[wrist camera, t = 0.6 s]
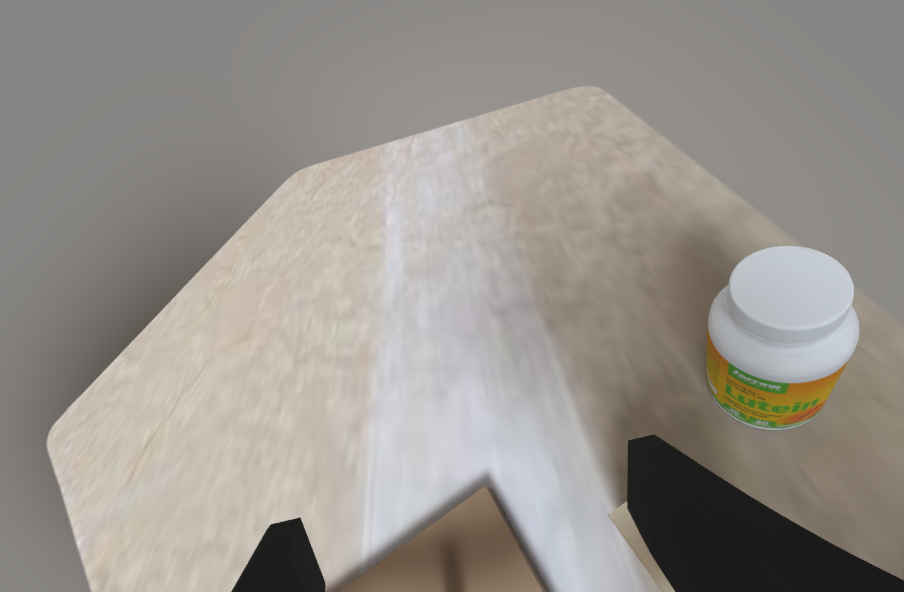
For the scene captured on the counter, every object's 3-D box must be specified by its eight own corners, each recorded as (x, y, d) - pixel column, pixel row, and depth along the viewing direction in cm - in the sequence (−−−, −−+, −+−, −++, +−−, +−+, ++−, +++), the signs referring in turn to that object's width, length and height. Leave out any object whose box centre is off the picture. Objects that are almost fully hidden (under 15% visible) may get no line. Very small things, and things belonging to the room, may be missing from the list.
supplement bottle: (708, 427, 25) (712, 345, 17) (703, 340, 27) (704, 237, 20) (834, 438, 22) (899, 347, 15) (815, 341, 25) (862, 224, 18)
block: (755, 568, 21) (770, 552, 16) (684, 619, 21) (680, 617, 16) (687, 491, 23) (684, 459, 19) (624, 536, 23) (607, 515, 19)
